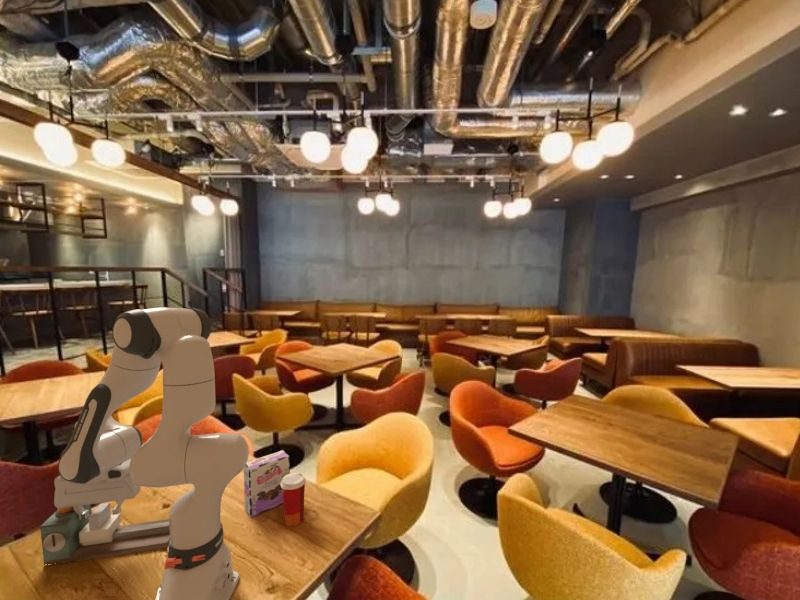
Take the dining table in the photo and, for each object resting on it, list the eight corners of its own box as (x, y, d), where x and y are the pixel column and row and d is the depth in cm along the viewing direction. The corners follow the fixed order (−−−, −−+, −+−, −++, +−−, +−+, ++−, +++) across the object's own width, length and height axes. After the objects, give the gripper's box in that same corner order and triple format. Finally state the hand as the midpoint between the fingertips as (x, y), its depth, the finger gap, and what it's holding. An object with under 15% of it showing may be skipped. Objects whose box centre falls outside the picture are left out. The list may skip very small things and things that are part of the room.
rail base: (166, 548, 106) (164, 509, 105) (42, 567, 100) (38, 526, 99) (181, 521, 118) (178, 486, 117) (70, 537, 111) (66, 499, 110)
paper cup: (297, 509, 123) (296, 469, 122) (311, 519, 119) (310, 477, 117) (276, 521, 117) (274, 479, 116) (290, 532, 113) (289, 488, 111)
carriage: (109, 544, 105) (106, 515, 105) (80, 549, 104) (77, 519, 103) (121, 528, 112) (119, 500, 111) (94, 531, 111) (92, 503, 110)
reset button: (69, 512, 104) (69, 502, 104) (54, 514, 103) (53, 504, 103) (77, 504, 107) (77, 494, 107) (63, 506, 107) (62, 496, 106)
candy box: (250, 518, 119) (248, 469, 118) (244, 509, 124) (242, 462, 122) (291, 501, 128) (289, 455, 126) (284, 493, 132) (283, 448, 131)
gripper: (46, 480, 101) (50, 529, 102) (131, 470, 105) (134, 517, 106) (61, 468, 107) (65, 514, 108) (141, 459, 111) (144, 503, 112)
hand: (100, 515), depth 107 cm, fingers open, 7 cm apart
